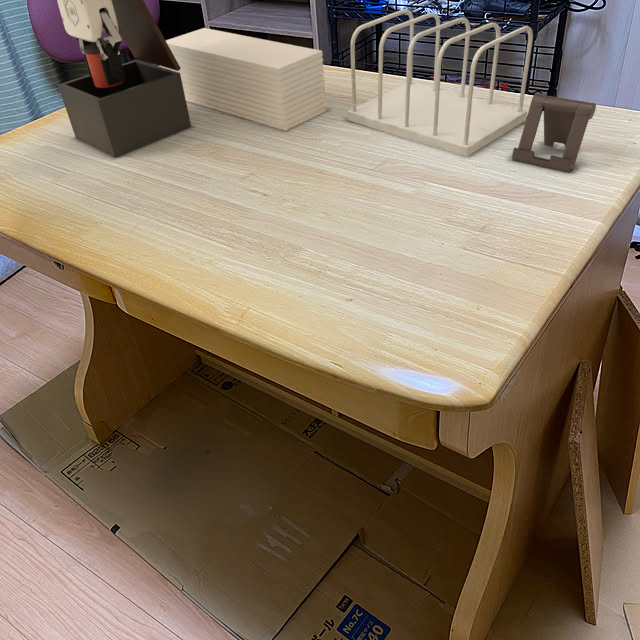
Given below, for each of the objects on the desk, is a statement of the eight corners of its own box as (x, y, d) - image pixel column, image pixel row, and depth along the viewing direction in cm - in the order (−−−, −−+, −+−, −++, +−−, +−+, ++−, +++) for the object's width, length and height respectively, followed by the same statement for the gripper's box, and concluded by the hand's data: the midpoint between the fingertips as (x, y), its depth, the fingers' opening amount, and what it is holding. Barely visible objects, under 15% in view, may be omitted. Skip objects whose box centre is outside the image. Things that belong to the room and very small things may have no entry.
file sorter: (346, 122, 110) (342, 27, 100) (408, 92, 119) (410, 2, 109) (466, 158, 95) (475, 51, 85) (527, 121, 104) (541, 21, 94)
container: (95, 90, 103) (84, 52, 99) (93, 81, 107) (81, 44, 103) (126, 84, 104) (116, 46, 100) (122, 76, 108) (112, 39, 104)
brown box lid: (124, -25, 93) (148, -45, 95) (79, -32, 101) (103, -50, 103) (177, 71, 106) (199, 52, 107) (134, 58, 114) (154, 41, 115)
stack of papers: (173, 98, 126) (161, 41, 119) (213, 82, 132) (204, 27, 125) (285, 132, 108) (278, 68, 101) (326, 112, 114) (322, 50, 107)
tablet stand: (509, 162, 93) (517, 107, 88) (531, 142, 98) (539, 89, 92) (568, 175, 89) (579, 118, 83) (588, 154, 93) (599, 98, 88)
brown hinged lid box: (115, 159, 104) (98, 101, 98) (76, 140, 112) (57, 84, 106) (191, 128, 113) (180, 72, 106) (150, 112, 121) (136, 59, 114)
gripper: (24, -43, 96) (64, 76, 108) (77, -35, 87) (114, 96, 98) (68, -52, 100) (102, 64, 112) (124, -45, 90) (154, 82, 102)
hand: (107, 78), depth 105 cm, fingers closed on container, 4 cm apart
